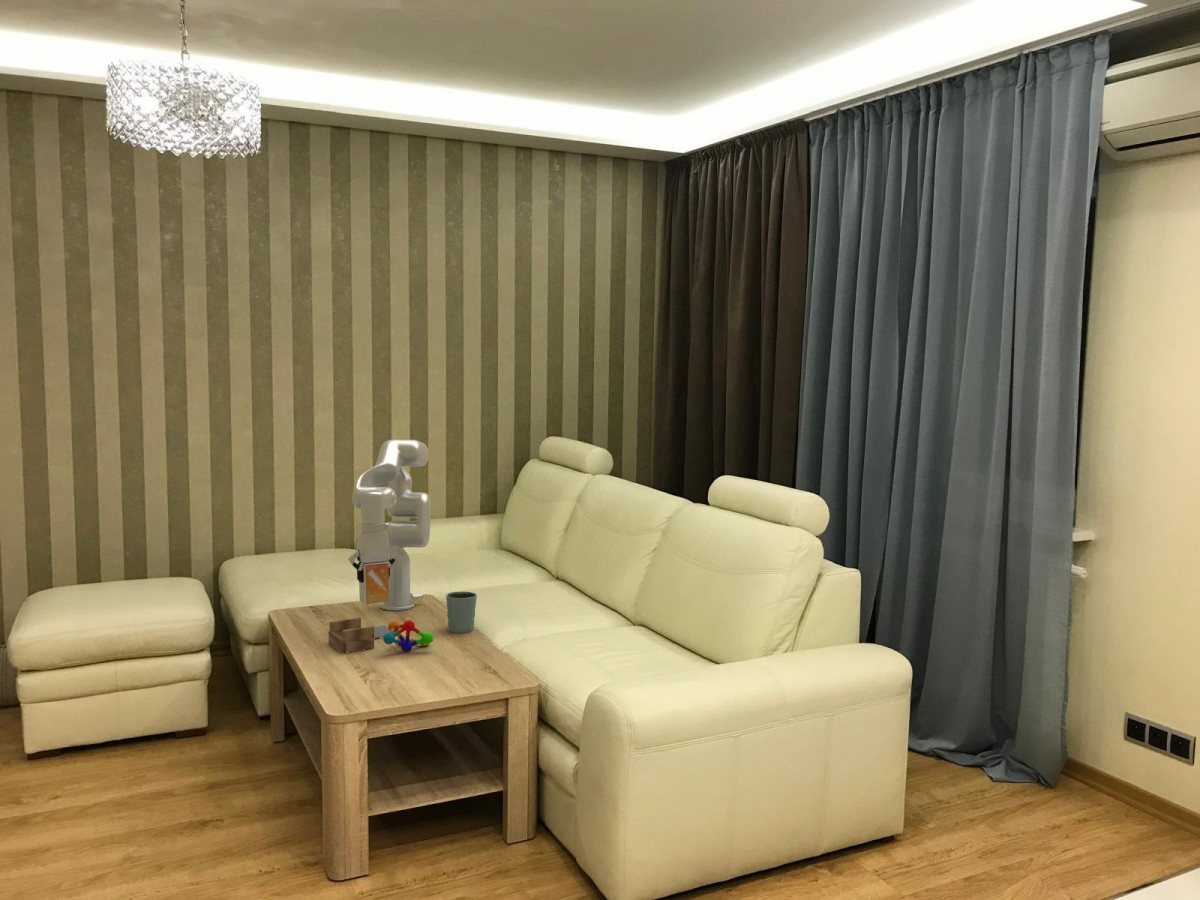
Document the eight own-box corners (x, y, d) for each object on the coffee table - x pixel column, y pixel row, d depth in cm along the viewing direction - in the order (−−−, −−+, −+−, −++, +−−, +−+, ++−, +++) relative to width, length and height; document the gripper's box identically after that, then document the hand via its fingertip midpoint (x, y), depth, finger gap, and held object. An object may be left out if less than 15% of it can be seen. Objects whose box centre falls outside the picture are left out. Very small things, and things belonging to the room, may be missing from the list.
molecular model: (387, 655, 328) (382, 647, 313) (389, 625, 331) (383, 616, 317) (435, 655, 329) (431, 647, 315) (436, 625, 332) (432, 616, 318)
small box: (366, 604, 333) (364, 564, 332) (359, 601, 339) (358, 562, 338) (389, 601, 338) (388, 562, 337) (382, 598, 343) (381, 559, 342)
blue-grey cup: (440, 630, 344) (440, 595, 343) (458, 623, 353) (457, 589, 352) (465, 635, 340) (465, 599, 338) (482, 627, 348) (482, 593, 347)
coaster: (384, 626, 348) (384, 625, 348) (398, 635, 338) (398, 633, 338) (350, 632, 341) (350, 630, 341) (363, 641, 331) (363, 639, 331)
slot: (359, 638, 334) (359, 617, 334) (374, 648, 324) (374, 626, 323) (328, 643, 329) (328, 621, 328) (342, 653, 318) (342, 631, 317)
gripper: (393, 524, 344) (394, 575, 346) (343, 528, 334) (344, 581, 336) (402, 527, 338) (403, 579, 339) (351, 532, 328) (352, 585, 330)
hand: (373, 580), depth 338 cm, fingers closed on small box, 8 cm apart
